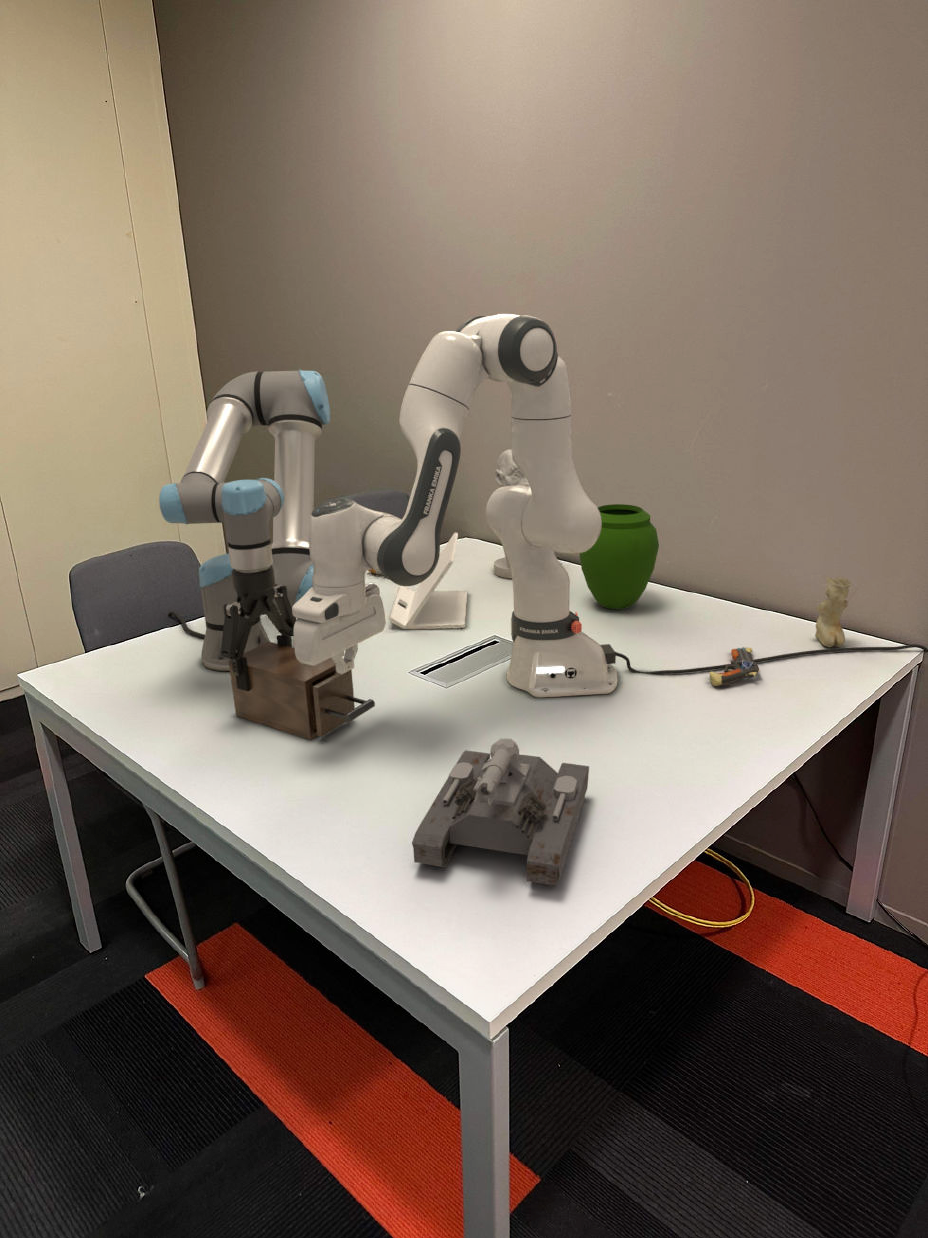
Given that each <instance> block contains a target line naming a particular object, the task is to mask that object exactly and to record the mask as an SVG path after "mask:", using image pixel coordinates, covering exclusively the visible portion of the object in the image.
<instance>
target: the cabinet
mask: <svg viewBox="0 0 928 1238" xmlns="http://www.w3.org/2000/svg"><path fill="white" fill-rule="evenodd" d="M243 657H246V658H247V665H248V673H249V681H250V689H251V690H249V691H245V690H241V689H238V688H237V682H236V675H234V674H233V671H232V664H231V660H228V661H229V668H230V671H229V675H230V682H231V690H232V697H233V704H234V712H235V716H236V717H238V718H241V719H244V720H247V721H251V722H254V723H256V724H259V725H263V726H266V727H270V728H273V729H275V730H277V731H282V732H284V733H288V734H290V735H293V736H297V737H300V738H302V739H306V740H309V741H312V740H314V739H315V738H316V737H319V736H318V735H317V728H316V729H313V721H312V711H311V701H310V691H309V684H310V683H312V682H314V681H316V680H318V679H319V678H321V677H323V676H325V675H327V674H329V673H330V672H332V671H334V670H336V664H335V663H334V661H333V660H332V658H329V659H327V660H325V661H323V662H321V663H319V664H317V665H315V666H311V665H306V664H303V663H300V662H299V661H298V660H297V658H296V655H295V648H294V647H293V646H292V647H288V646H284V645H280V644H277V642H271V641H270V642H267V643H265V644H262V645H260V646H258V647H256V648H254V649H252V650H250V651H247V652H245V653H244V654H243Z"/></svg>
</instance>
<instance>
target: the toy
mask: <svg viewBox="0 0 928 1238" xmlns="http://www.w3.org/2000/svg"><path fill="white" fill-rule="evenodd" d="M589 773H590V766H589V765H583V764H575V763H567V762H562V763H561V764H560V767H559V769H558V772H557V771H556V769H554V768H553V767H552V766H550V764H548V762H546V761H545V760H544V759H543V758H542V757H541V756H536V755H528V754H520V748H519V745H518V744H517V742H515V741H514V740H513V739H512V738H505V737H504V738H499V739H498V740H496V741H495V742H494V743H493V744H492V745H491V748H490V753H489V752H481V751H474V750H464V751H463V752H462V754H461V755H460V757H459V758H458V760H457V762H456V763H455V764H454V766H453V767H452V768H451V770H450V772H449V774H448V777H447V779H446V780H445V781H444V784H443V785H442V787H441V789H440V790H439V792H438V794H437V795H436V797H435V798H434V800H433V802H432V804H430V805H431V806H430V807H429V809H428V811H427V812H426V814H425V816H424V817H423V819H422V820H421V821H420V824H419V826H418V828H416V831H415V833H414V836H413V839H412V841H411V845H412V851H413V862H414V863H416V864H417V863H418V864H423V865H430V866H436V867H444V868H447V866H448V864H449V862H450V860H451V858H452V856H453V854H454V851H455V849H456V848H457V846H458V845H460V846H467V847H473V848H479V849H486V850H494V851H500V852H507V853H512V854H519V855H525V856H527V858H526V881H527V882H532V883H538V884H545V885H549V886H558V884H559V881H560V879H561V876H562V873H563V870H564V868H565V867H564V866H565V863H566V860H567V856H568V853H569V850H570V847H571V843H572V841H573V837H574V833H575V830H576V827H577V824H578V821H579V818H580V814H581V811H582V807H583V805H584V801H585V798H586V794H587V791H588V788H589V786H588V785H589Z"/></svg>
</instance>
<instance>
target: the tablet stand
mask: <svg viewBox="0 0 928 1238" xmlns="http://www.w3.org/2000/svg"><path fill="white" fill-rule="evenodd" d="M458 537H459V533H458V532H456V531H455V532H453V534H452V535H451V537H450V539H449V540H448V542H447V543H446V544H445V546H444V548H443V549H442V551H440V554H439V560H438V563H437V565H436V568H435V569H434V571H433V572H432V574H431V575H430V576H429V577H428V578H427V579H426V580H424V581H423V582H421V583H419V584H418V585H417V587H416V589H415V590H412V589H410V588H409V587H408V586H400V585H399V586H398V589H397V591H396V595H395V598H394V601H393V604H392V607H391V610H390V612H389V613H390V614H389V617H388V621H389V622H391V623H392V624H394V625H396V626H398V627H399V628H401V629H402V630H426V629H427V630H429V629H430V630H431V629H435V630H436V629H437V630H438V629H464V628H465V627H466V618H467V617H466V616H467V605H468V591H467V590H436V589H437V587H438V585H440V582H441V581H442V580H443V578H444V577H445V575H446V574H447V573H448V571H449V570H450V569H451V567H452V566H453V564H454V562H455V558H456V553H457V545H458ZM399 603H400V604H399ZM402 605H403V606H405V607H403V606H402Z"/></svg>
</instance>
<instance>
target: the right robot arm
mask: <svg viewBox="0 0 928 1238" xmlns="http://www.w3.org/2000/svg"><path fill="white" fill-rule="evenodd" d="M558 353H559V352H558V345H557V341H556V337H555V335H554V332H553V330H552V328H551V327H550V325H548V324H547V323H546V322H545V321H544V320H542V319H540V318H538V317H536V316H532V315H528V314H523V315H519V314H513V313H512V314H511V313H498V314H495V315H487V316H485V315H479V316H475V317H472V318H469V319H467V320H466V321H464V322H462V324H461V325H459V326H458V328H457V329H456V330H455V331H453V330H448V331H447V330H446V331H445V330H444V331H441V332H439V333H437V334H435V335H434V336H433V337H432V339H431V340H430V341H429V343H428V345H427V346H426V348H425V350H424V352H423V353H422V355H421V357H420V358H419V360H418V363H417V364H416V366H415V369H414V371H413V373H412V375H411V378H410V380H409V383H408V385H407V387H406V390H405V393H404V396H403V399H402V402H401V406H400V412H399V418H398V423H399V427H400V430H401V432H402V434H403V437H404V438H405V440H406V441H407V442H408V444H409V445H410V447H411V448H412V450H413V452H414V455H415V458H416V464H417V465H416V466H417V469H416V475H415V478H414V482H413V486H412V489H411V492H410V496H409V499H408V503H407V507H406V510H405V513H404V516H403V517H402V518H400V517H398V516H396V515H394V514H390V513H388V512H383V511H377V510H373V509H370V508H367V507H365V506H363V505H361V504H359V503H357V502H356V501H355V500H353V499H350V498H337V499H336V498H335V499H330V500H327V501H324V502H321V503H319V504H318V505H316V507H314V510H313V511H312V513H311V516H310V522H309V549H310V558H311V561H312V563H313V576H312V585H313V587H311V588H310V589H309V590H308V592H307V593H306V594H305V595H304V596H303V597H302V598H301V599H300V600H299V601H297V602H296V603H295V604H294V605H293V607H292V613H293V616H294V617H296V622H295V625H294V637H293V646H294V647H293V648H295V655H296V658H297V660H298V661H299V662H300V663H303V664H306V665H311V666H315V665H317V664H319V663H321V662H323V661H325V660H327V659H329V658H332V660H333V661H334V663H335V664H336V672H337V673H340V674H344V673H346V672H347V671H349V670H351V669H352V670H353V669H355V658H356V656H357V652H358V650H359V644H361V643H362V642H364V641H366V640H368V639H370V638H372V637H374V636H376V635H378V634H380V633H382V632H384V630H385V627H386V624H387V622H386V613H385V607H384V603H383V602H384V601H383V599H382V597H381V593H380V591H381V590H380V587H379V586H378V585H377V584H375V583H374V582H368V583H366V572H368V570H371V569H375V570H377V571H379V572H381V573H382V575H383V576H384V577H386V578H387V579H388V580H389V581H391V582H392V583H394V584H395V585H398V586H399V587H400V586H405V587H413V586H418V585H419V584H420V583H421V582H423V581H424V580H426V579H427V578H428V577H429V576H430V575H431V574H432V572H433V571H434V569H435V568H436V565H437V563H438V560H439V555H440V553H441V533H442V528H443V524H444V519H445V516H446V513H447V508H448V505H449V501H450V498H451V494H452V491H453V488H454V483H455V481H456V476H457V472H458V469H459V464H460V460H461V450H462V449H461V442H462V435H463V431H464V427H465V424H466V420H467V417H468V415H469V411H470V410H471V406H472V404H473V402H474V401H473V400H474V398H475V395H476V392H477V390H478V388H479V387H480V386H481V384H482V383H483V382H484V381H485V380H487V381H492V382H502V383H503V382H505V383H506V384H507V386H508V388H509V390H510V396H511V399H510V400H511V402H510V426H511V427H510V431H511V432H510V433H511V435H510V436H511V440H510V441H511V449H512V457H513V460H514V462H515V464H516V465H517V466H518V467H519V468H520V469H521V470H522V472H523V473H524V475H525V476H526V478H527V480H528V483H529V485H530V486H525V485H513V486H504V487H502V486H499V487H498V488H497V489H495V490H494V491H493V492H492V493H491V495H490V496H489V498H488V501H487V503H486V507H485V519H486V522H487V524H488V527H489V528H490V529H491V530H492V531H493V533H494V534H495V536H496V537H497V538H498V540H499V541H500V544H501V546H502V548H504V549H503V551H504V550H505V553H506V556H507V558H508V561H509V565H510V568H511V573H512V578H511V579H512V592H513V593H512V594H513V596H512V597H513V611H512V612H511V618H510V635H511V640H512V645H511V646H512V647H511V655H510V660H509V665H508V669H507V672H506V675H505V678H506V681H507V683H509V684H510V685H511V686H513V687H515V688H517V689H519V690H522V691H525V692H527V693H529V694H530V695H531V696H533V697H535V698H556V697H572V696H573V697H574V696H588V695H589V696H590V695H591V696H592V695H607V694H611V693H612V692H613V691H615V690H616V688H617V686H618V673H617V670H616V668H615V667H614V666H613V664H615V665H616V662H617V661H616V660H617V659H616V657H619V658H621V659H623V660H624V661H625V662H626V667H627V669H628V671H630V672H631V673H634V674H644V675H655V676H656V675H657V676H658V675H665V674H666V675H667V674H669V675H670V674H688V673H695V672H705V671H712V670H713V671H714V670H721V669H725V666H726V665H730V664H731V663H725V664H719V665H711V666H701V667H695V668H693V667H692V668H686V669H685V668H684V669H664V670H663V669H662V670H654V671H642V670H641V671H640V670H637V669H634V668H633V667H632V666H631V661H630V659H629V657H628V656H627V655H625V654H623V653H620V652H616V651H615V650H614V648H613V647H612V645H611V644H610V643H605V644H600V643H599V642H598V641H596V640H595V639H593V638H591V637H590V636H589V635H587V634H586V633H585V632H583V631H582V630H583V626H582V625H583V624H582V622H581V621H580V616H579V615H578V612H577V611H575V613H574V612H573V611H571V610H570V590H571V589H570V586H571V585H570V584H571V579H570V576H569V575H570V574H569V572H568V571H567V569H566V568H565V567H564V566H563V565H562V563H561V562H560V561H559V560H558V557H557V556H556V554H555V552H556V553H559V554H560V553H561V554H579V553H582V552H586V551H587V550H589V549H590V548H591V547H592V546H593V545H594V544H595V543H596V541H597V540H598V538H599V535H600V532H601V527H602V520H601V515H600V512H599V510H598V507H597V505H596V504H595V503H594V502H593V501H592V500H591V499H590V497H589V496H588V495H587V493H586V491H585V489H584V488H583V486H582V484H581V480H580V478H579V476H578V473H577V469H576V467H575V466H576V465H575V462H574V456H573V443H572V442H573V440H572V396H571V385H570V380H569V374H568V368H567V365H566V362H565V361H564V359H563V358H561V356H559V354H558ZM505 553H504V554H505ZM914 648H915V649H921V650H922V651H924V652H926V653H928V647H926V646H924V645H921V644H906V645H905V644H904V645H899V646H858V647H855V646H853V647H837V648H836V647H835V648H834V647H833V648H824V649H813V650H806V651H804V650H803V651H798V652H792V653H785V654H780V655H772V656H768V657H762V658H756V659H753V660H754V661H755V662H756V663H757V664H758V663H762V662H767V661H773V660H779V659H785V658H791V657H798V656H806V655H815V654H823V653H824V654H825V653H835V652H854V651H855V652H857V651H858V652H859V651H899V650H907V649H914Z"/></svg>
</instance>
